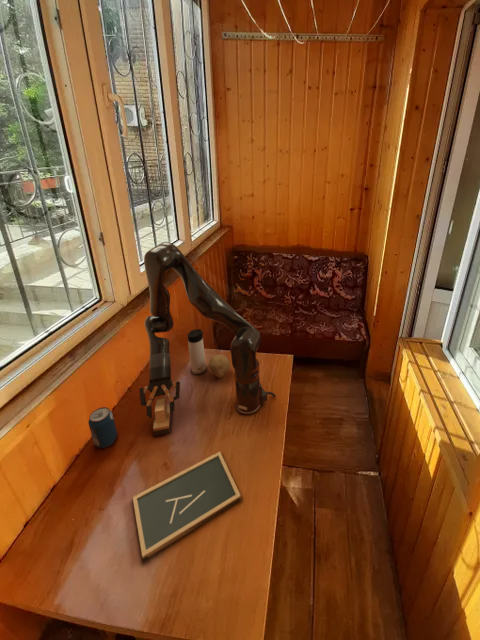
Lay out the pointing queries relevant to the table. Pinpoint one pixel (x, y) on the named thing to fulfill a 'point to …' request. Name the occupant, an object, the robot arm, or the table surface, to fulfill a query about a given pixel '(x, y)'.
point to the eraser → (162, 417)
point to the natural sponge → (219, 365)
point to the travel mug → (196, 351)
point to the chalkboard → (183, 503)
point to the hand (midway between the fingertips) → (160, 415)
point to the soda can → (102, 427)
